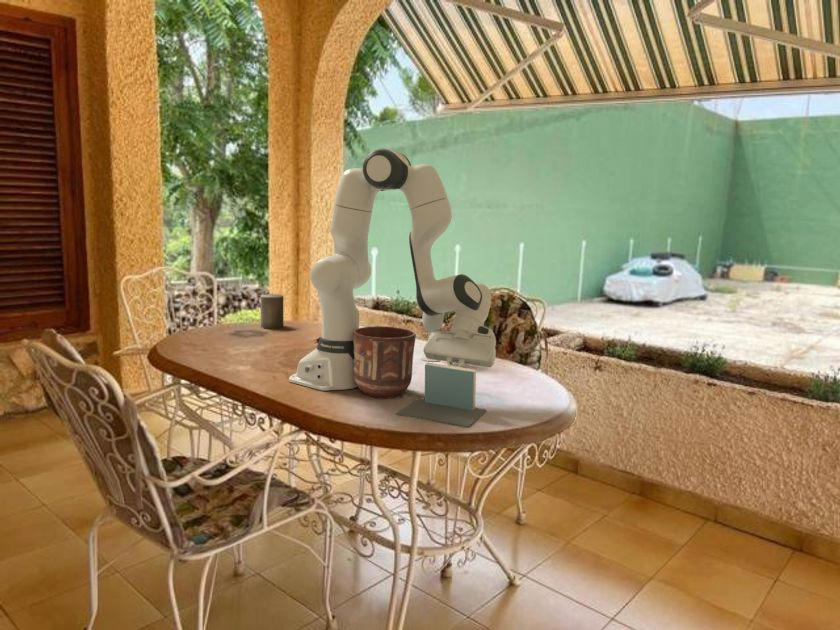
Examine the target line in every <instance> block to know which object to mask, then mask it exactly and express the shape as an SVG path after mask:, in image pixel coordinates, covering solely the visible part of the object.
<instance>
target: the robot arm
mask: <svg viewBox="0 0 840 630" xmlns="http://www.w3.org/2000/svg"><path fill="white" fill-rule="evenodd" d="M393 190H399V191H401V192H402V193H403V195H404V197H405V198H406V200H407V204H408V207H409V210H410V214H411V224H412V225H411V230H410V232H409V237H408V238H409V239H408V240H409V241H408V243H409V249H410V256H411V261H412V262H411V263H412V269H413V275H414V280H415V285H416V286H415V289H416V290H415V292H416V293H415V294H416V296H415V297H416V298H415V299H416V303H417V306H418V308H419V309H420V310H421V311H422V312H424V313H425V314H427V315H429V316H436V315H439V314H442V313H443V314H444V313H448V312H454V313H455V317H454V320H453V322H452V324H451V328H450V329H449V330H443V329H440V330H436V331H433V332H431V333H429V336H428V339H427V341H426V343H425V345H424V346H423V354H424V355H425V356H424V357H427V358H428V359H434V360H441V361H442V362H446V365H448V366H453V364H454V363H455V364H458V365H457V366H456V367H461V368H466V365H470V366H476V367H484V368H491V367H493V366H494V364H495V361H496V355H497V349H496V346H497V338H496V336H495V335H496V334H495V333H494V331H493V329H491V328H490V327H486V326H485V322H486V320H487V318H488V316H489V312H490V308H491V305H492V292H491V290H490V289H489V287H488V286H486V284H483V283H482V282H475V281H474V280H473V279H472V278H471V277H469V276H468V275H466V274H463V273H462V274H456V275H452V276H447V277H445V278H441V279H436V278H435V274H434V268H433V261H432V255H431V251H432V250H431V249H432V247H433V245H434V243H436V242H435V241H437V239H438V238H440V237H441V235H443V234H444V233H445V232H446V231H447V229H448V227H449V226H450V224H451V221H452V207H451V204H450V201H449V198H448V195H447V192H446V189H445V186H444V184H443V181H442V180H441V178H440V176H439V173H438V172H437V170H436V168H435V167H434V166H433V165H430V164H425V163H420V164H416V165H412V164H411V161H410V160H409V158H408V157H407V156H406V155H405V154H403V153H401V152H399V151H397V150H395V149H391V148H390V149H386V148H379V149H375V150H373V151H371V152H370V153H369V154H368V155H367V156H366V157H365V158H364V161H363V164H362V168H358V167H354V168H348V169H347V170H345V171H344V172H343V173H342V174H341V178H340V181H339V183H338V186H337V190H336V192H335V193H336V194H335V197H334V204H333V210H332V216H331V221H330V222H331V223H330V228H329V232H330V235H331V236H332V240H333V255H328V256H324V257H323V258H321V259H319V260H318V261H316V262H315V263H314V264H313V265H312V267H311V269H310V273H309V278H310V282H311V285H312V286H313V288H314V289H315V291H317V292H316V293H317V296H318V299H319V303H320V309H321V336H320V337H318V338H317V339H313V341H314V342H313V344H314V345H315V344H317V345H316V348H315V349H313V350H312V351H310V353H309V352H308V354H306V355H305V356H304V357H302V358H301V359H300V360H299V362H298V363H297V369H296V373H293V374H292V375H290V376H288V377H289V378H288V382H289V383H293V384H296V385H297V384H298V385H300V386H304V387H308V388H312V389H315V390H319V391H322V392H323V391H324V392H325V391H326V392H327V391H335V390H350V389H355V388H359V387H358V386H357V384H356V382H355V379H354V359H355V358H354V341H353V332H354V330H356V329H359V328H360V317H361V316H360V315H361V314H360V311H359V309H358V308H357V305H356V301H355V296H354V290H357V289H359V288H361V287H363V286H364V285H365V284H366V283H367V282H368V281H369V280H370V278H371V275H372V267H371V263H370V262H369V248H368V247H369V246H368V245H369V243H368V240H369V233H370V232H369V231H370V226H371V219H372V214H373V208H374V203H375V202H374V201H375V198H376V195H378V193H379V192H384V191H385V192H386V191H393ZM441 361H440V362H441Z"/></svg>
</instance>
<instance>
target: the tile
mask: <svg viewBox="0 0 840 630" xmlns="http://www.w3.org/2000/svg"><path fill="white" fill-rule="evenodd" d="M476 380H477V369H475V368H468V367H467V368H466V367H464V368H461V367H457V366H453V365H451V366H448V365H447V364H441V363H439V364H438V363H435V362H426V363H425V364H424V399H425V402H427V403H433V404H439V405H445V406H450V407H456V408H462V409H467V410H474V408H476V394H477V393H476V392H477V391H476V389H477V388H476V387H477V384H476Z"/></svg>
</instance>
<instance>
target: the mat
mask: <svg viewBox="0 0 840 630" xmlns="http://www.w3.org/2000/svg"><path fill="white" fill-rule="evenodd" d="M486 412H487V409H483V408H478V407H475V408H474V410H467V409H462V408H456V407H450V406H445V405H439V404H433V403H427V402H425V398H421V397H418V398H416V399H415V400H413V401H412V402H410V403H408V404H407V405H406V406H405V407H402V408H401V409H399V410H398V411H397V412H395V415H397V416H403V417H408V418H414V419H419V420H424V421H430V422H434V423H439V424H445V425H451V426H456V427H460V428H461V427H463V428H467V429H469V428H470V427H471V426H472V425H473V424H475V422H476V421H477V420H478V419H480V417H482V416H483V415H484V414H486Z"/></svg>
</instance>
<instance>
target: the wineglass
mask: <svg viewBox="0 0 840 630" xmlns="http://www.w3.org/2000/svg"><path fill="white" fill-rule="evenodd" d="M422 312H423V311H422ZM421 319H422V320H421V321H422V325H423V327H424V329H425V330H426V331H427V333H429V334H430V333H431V332H433V331H436V330H441V328H442V327H443V326H444V313H442V314H439V315H436V316H429V315H427V314H425V313H424V312H423V313H422V317H421ZM420 360H421V361H424V362H426V363H436V362H437V363H438V362H441V360H434V359H428V358H427V357H426V356H422V357H421V358H420Z"/></svg>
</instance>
